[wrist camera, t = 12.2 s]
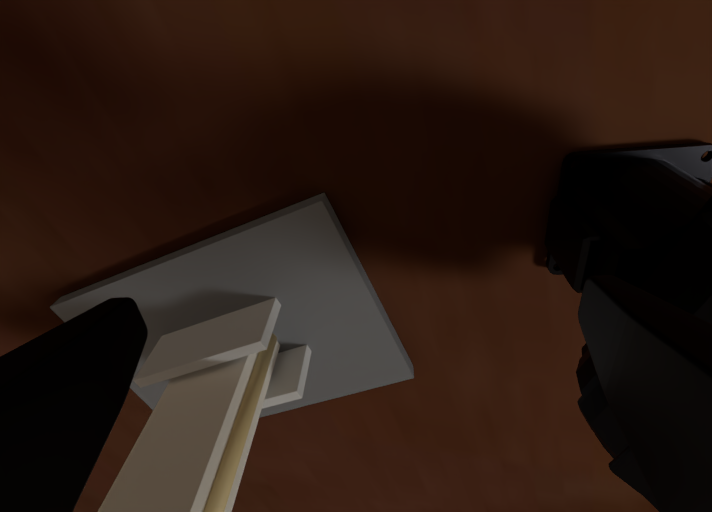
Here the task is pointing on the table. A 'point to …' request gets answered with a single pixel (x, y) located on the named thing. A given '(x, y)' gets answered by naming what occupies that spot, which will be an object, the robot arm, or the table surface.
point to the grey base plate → (261, 309)
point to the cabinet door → (196, 440)
